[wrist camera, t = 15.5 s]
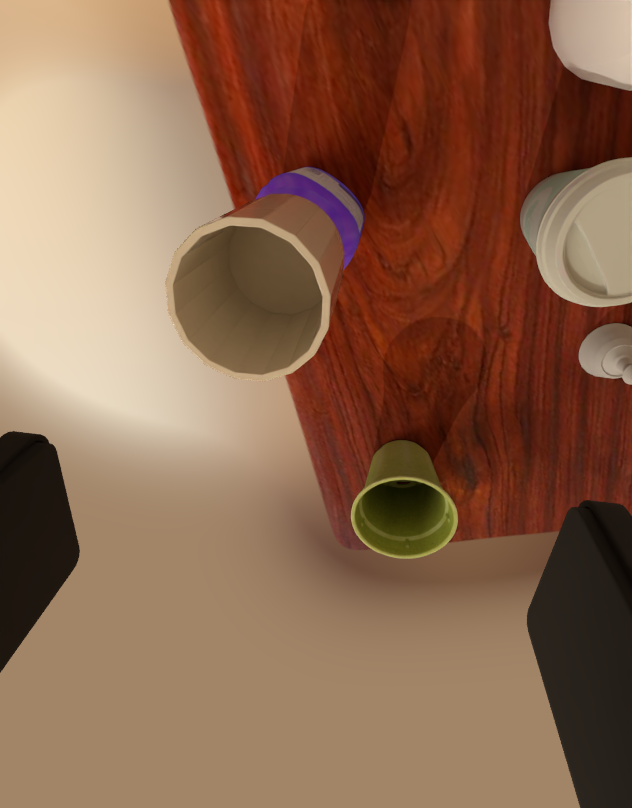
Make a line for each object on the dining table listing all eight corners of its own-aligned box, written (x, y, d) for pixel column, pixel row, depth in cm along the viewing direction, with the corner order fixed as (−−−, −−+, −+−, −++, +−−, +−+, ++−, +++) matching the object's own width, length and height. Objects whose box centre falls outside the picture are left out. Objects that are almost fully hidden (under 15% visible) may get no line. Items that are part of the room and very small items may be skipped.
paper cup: (222, 189, 24) (157, 211, 17) (348, 197, 24) (335, 223, 17) (227, 311, 27) (174, 373, 20) (340, 320, 27) (325, 387, 20)
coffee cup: (509, 155, 37) (559, 163, 27) (631, 148, 36) (733, 154, 25) (495, 269, 41) (534, 316, 31) (604, 267, 40) (683, 313, 30)
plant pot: (361, 501, 54) (358, 560, 47) (349, 429, 50) (343, 481, 43) (448, 496, 53) (460, 556, 45) (444, 420, 48) (455, 473, 41)
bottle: (265, 212, 41) (197, 257, 26) (304, 149, 38) (253, 159, 23) (335, 265, 42) (310, 338, 27) (377, 208, 40) (374, 254, 25)
